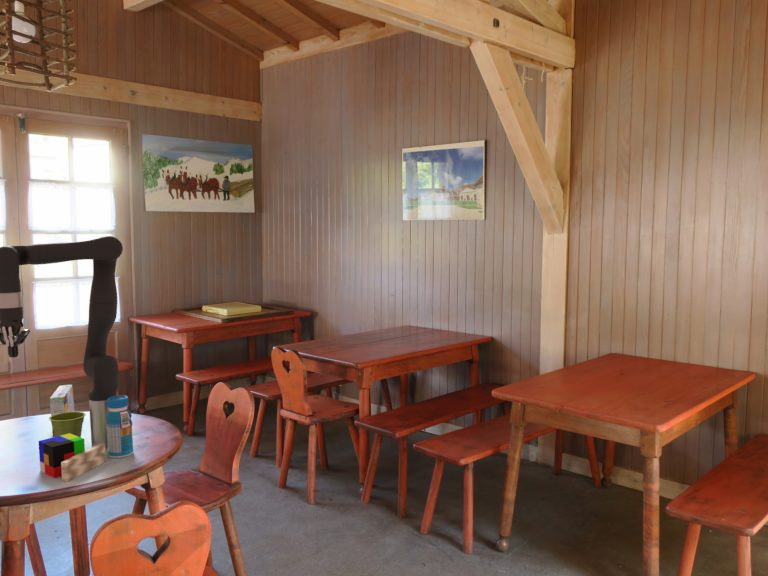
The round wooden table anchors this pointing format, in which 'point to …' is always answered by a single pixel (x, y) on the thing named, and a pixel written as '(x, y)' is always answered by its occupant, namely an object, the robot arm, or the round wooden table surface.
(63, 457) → the puzzle toy
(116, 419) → the blue canister
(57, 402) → the snack box
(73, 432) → the plant pot
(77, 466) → the ash board
